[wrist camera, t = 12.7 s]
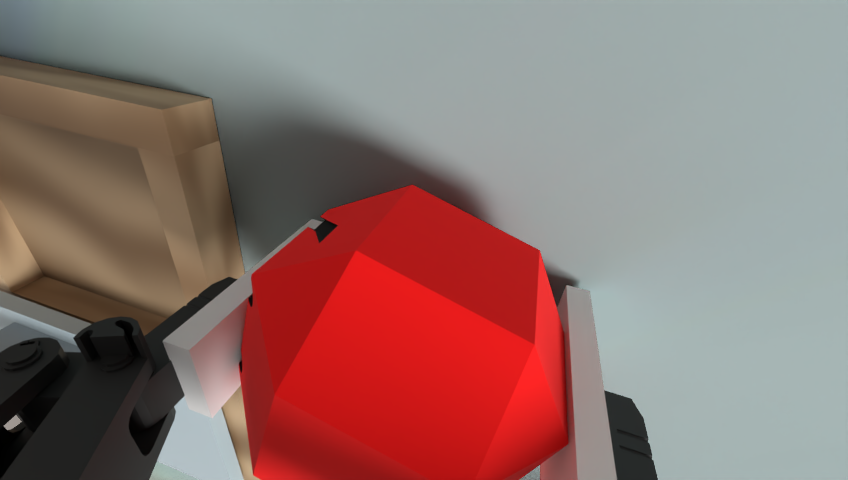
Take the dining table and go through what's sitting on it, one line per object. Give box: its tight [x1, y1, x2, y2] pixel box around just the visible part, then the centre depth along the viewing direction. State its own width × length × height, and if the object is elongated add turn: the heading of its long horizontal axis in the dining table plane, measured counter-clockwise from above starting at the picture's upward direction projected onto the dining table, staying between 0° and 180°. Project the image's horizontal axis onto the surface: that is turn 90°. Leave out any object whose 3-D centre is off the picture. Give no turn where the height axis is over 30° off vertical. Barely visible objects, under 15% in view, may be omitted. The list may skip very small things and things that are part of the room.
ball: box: [239, 185, 568, 480], centre depth 11 cm, size 8×8×8 cm
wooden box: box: [0, 56, 260, 480], centre depth 21 cm, size 26×16×2 cm, turn 173°
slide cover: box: [0, 291, 244, 480], centre depth 21 cm, size 12×14×4 cm
